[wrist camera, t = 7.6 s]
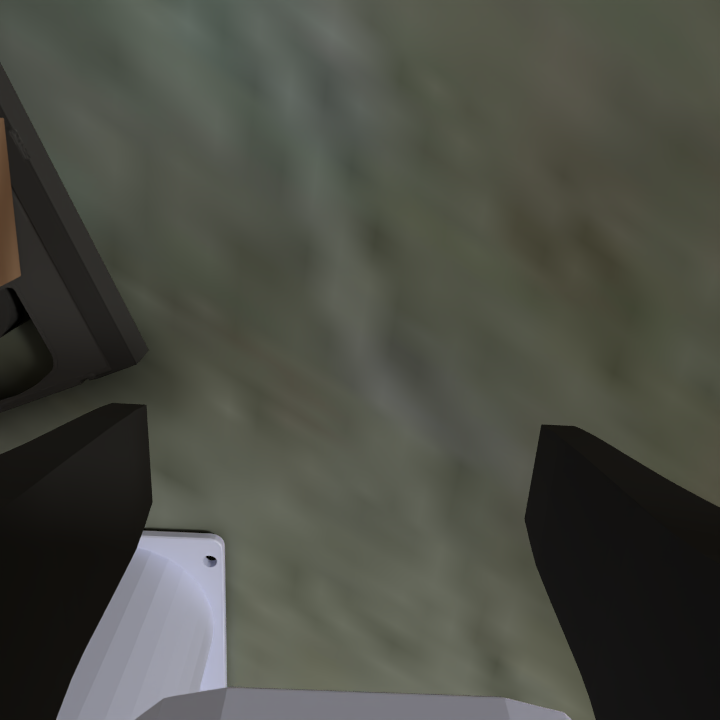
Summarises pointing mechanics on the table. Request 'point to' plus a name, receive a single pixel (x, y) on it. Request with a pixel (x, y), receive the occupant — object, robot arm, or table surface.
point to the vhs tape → (58, 271)
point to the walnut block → (7, 218)
